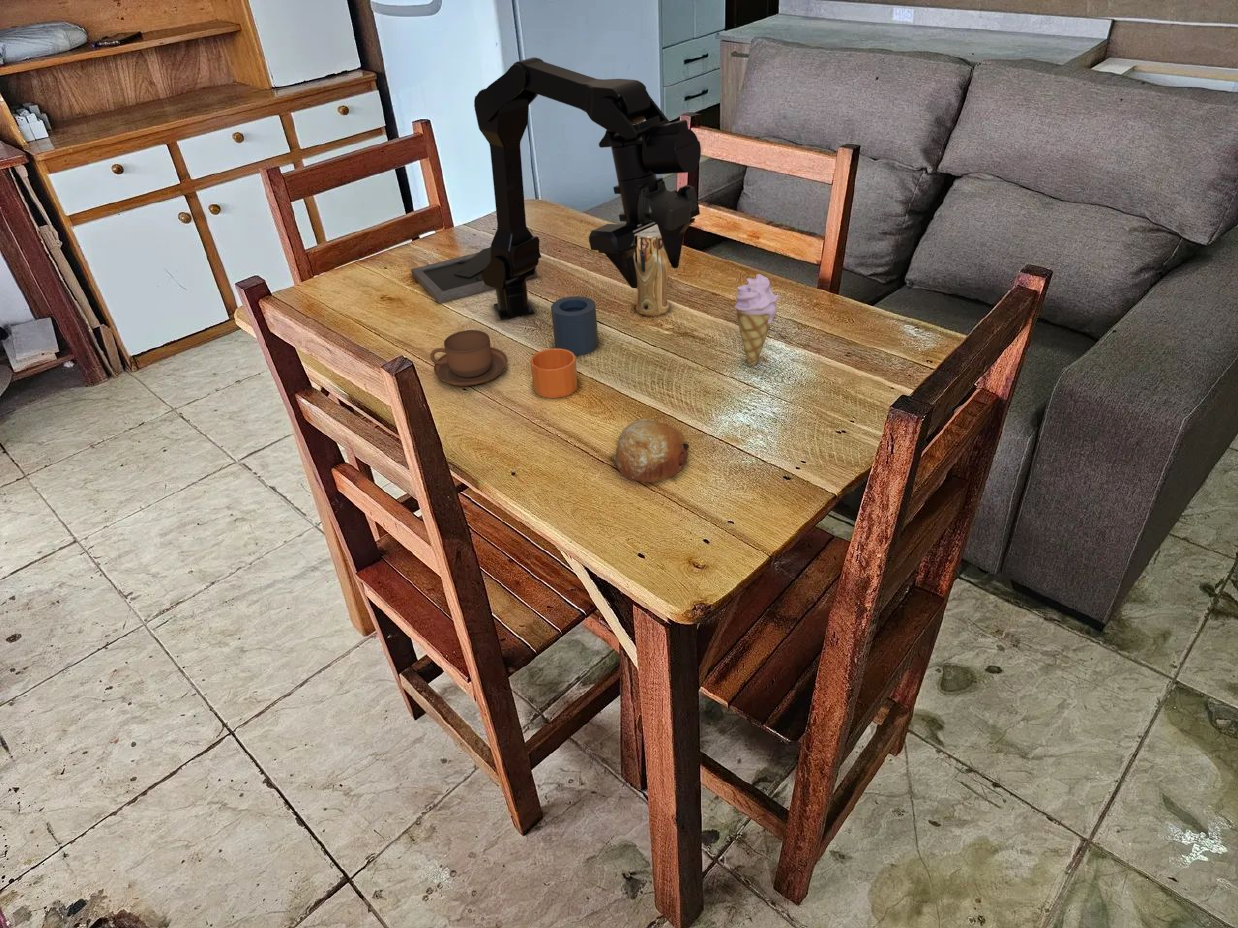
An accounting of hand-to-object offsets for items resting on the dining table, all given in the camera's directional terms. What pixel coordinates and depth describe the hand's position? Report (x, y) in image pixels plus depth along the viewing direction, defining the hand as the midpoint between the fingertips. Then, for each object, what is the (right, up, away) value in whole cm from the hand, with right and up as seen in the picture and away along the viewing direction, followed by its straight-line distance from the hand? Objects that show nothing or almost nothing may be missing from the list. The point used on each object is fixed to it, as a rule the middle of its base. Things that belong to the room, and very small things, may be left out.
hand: (655, 277), depth 129 cm
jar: (-13, -8, +14) cm, 21 cm away
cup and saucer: (-30, -14, +8) cm, 34 cm away
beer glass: (0, 0, +24) cm, 25 cm away
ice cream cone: (+16, -13, +6) cm, 22 cm away
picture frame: (-35, +9, +40) cm, 54 cm away
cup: (-16, -17, +3) cm, 23 cm away
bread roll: (-1, -29, -14) cm, 32 cm away
